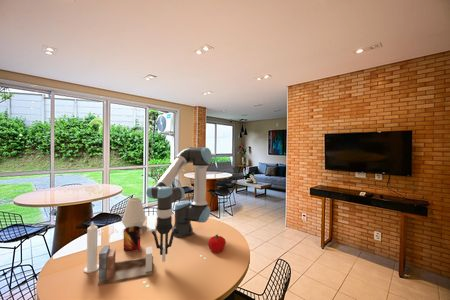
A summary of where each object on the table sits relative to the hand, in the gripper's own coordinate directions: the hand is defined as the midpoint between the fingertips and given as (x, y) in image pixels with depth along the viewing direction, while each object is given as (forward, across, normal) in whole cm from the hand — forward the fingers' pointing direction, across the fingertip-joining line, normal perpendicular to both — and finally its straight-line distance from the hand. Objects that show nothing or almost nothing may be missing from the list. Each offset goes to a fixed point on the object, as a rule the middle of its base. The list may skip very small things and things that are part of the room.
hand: (163, 260), depth 107 cm
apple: (+4, -33, -8) cm, 34 cm away
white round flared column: (+4, +35, -10) cm, 37 cm away
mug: (+4, +16, -27) cm, 32 cm away
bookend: (+3, +7, 0) cm, 8 cm away
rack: (+4, +17, 0) cm, 18 cm away
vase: (+4, +19, -62) cm, 65 cm away
